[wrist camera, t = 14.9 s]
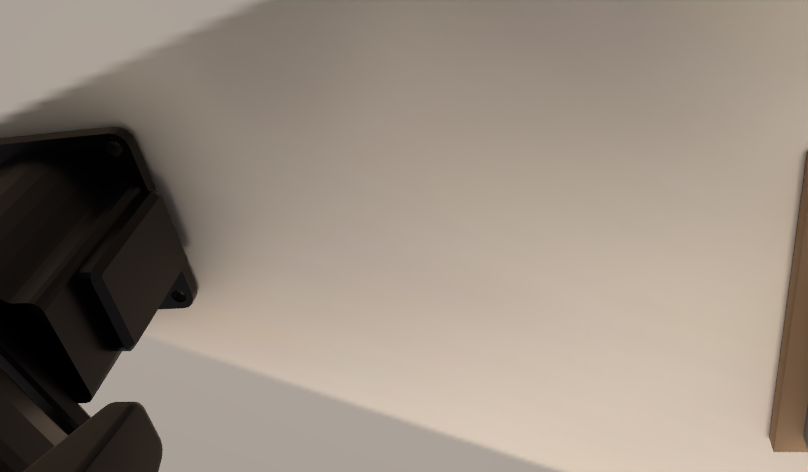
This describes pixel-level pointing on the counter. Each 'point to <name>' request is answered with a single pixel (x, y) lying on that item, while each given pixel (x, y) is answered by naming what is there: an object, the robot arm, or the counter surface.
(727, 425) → the counter surface
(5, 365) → the robot arm
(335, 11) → the counter surface
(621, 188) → the counter surface
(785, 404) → the socket
